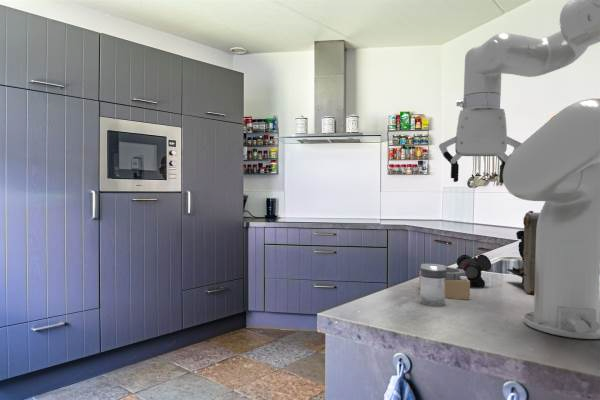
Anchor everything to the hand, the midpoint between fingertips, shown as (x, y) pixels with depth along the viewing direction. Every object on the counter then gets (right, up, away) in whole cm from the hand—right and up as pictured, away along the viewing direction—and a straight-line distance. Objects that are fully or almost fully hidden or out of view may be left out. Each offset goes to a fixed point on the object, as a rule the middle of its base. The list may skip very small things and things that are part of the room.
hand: (478, 182), depth 93 cm
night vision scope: (+6, -26, +19) cm, 33 cm away
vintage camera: (+19, -27, +13) cm, 35 cm away
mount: (-6, -26, +5) cm, 27 cm away
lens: (-12, -26, -4) cm, 29 cm away
